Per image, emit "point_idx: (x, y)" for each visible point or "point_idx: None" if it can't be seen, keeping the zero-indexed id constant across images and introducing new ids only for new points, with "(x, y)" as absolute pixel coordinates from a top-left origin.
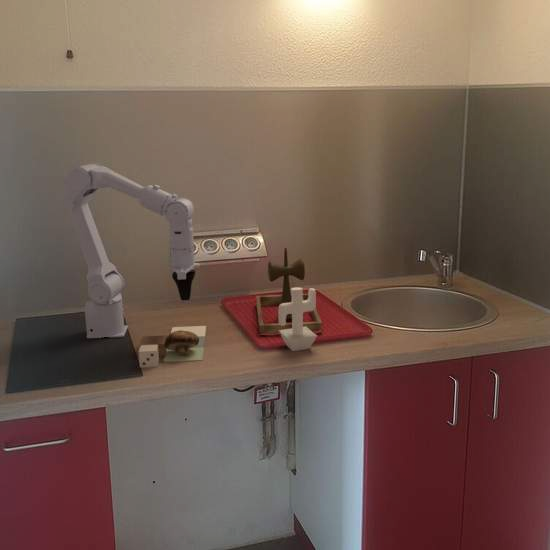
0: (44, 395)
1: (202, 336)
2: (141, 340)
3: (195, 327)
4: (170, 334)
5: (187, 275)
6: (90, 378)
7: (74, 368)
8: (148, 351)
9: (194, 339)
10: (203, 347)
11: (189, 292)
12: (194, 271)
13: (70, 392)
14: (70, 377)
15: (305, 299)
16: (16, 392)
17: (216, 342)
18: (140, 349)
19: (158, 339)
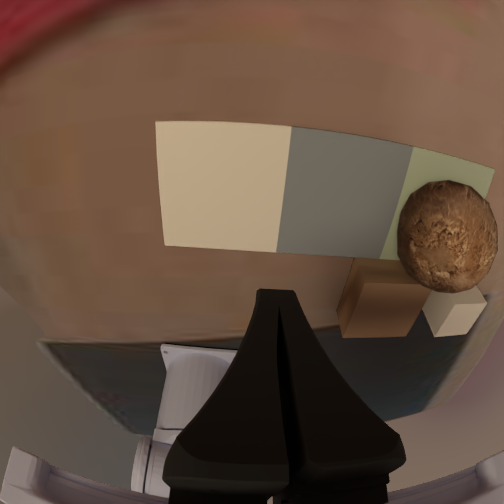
0: (455, 385)
1: (294, 137)
2: (375, 336)
3: (173, 165)
4: (460, 291)
5: (382, 478)
6: (442, 360)
7: (388, 385)
8: (477, 316)
9: (491, 210)
10: (413, 147)
11: (310, 332)
12: (264, 484)
13: (468, 366)
14: (420, 380)
15: None
16: (426, 406)
17: (368, 88)
18: (458, 333)
19: (390, 301)
